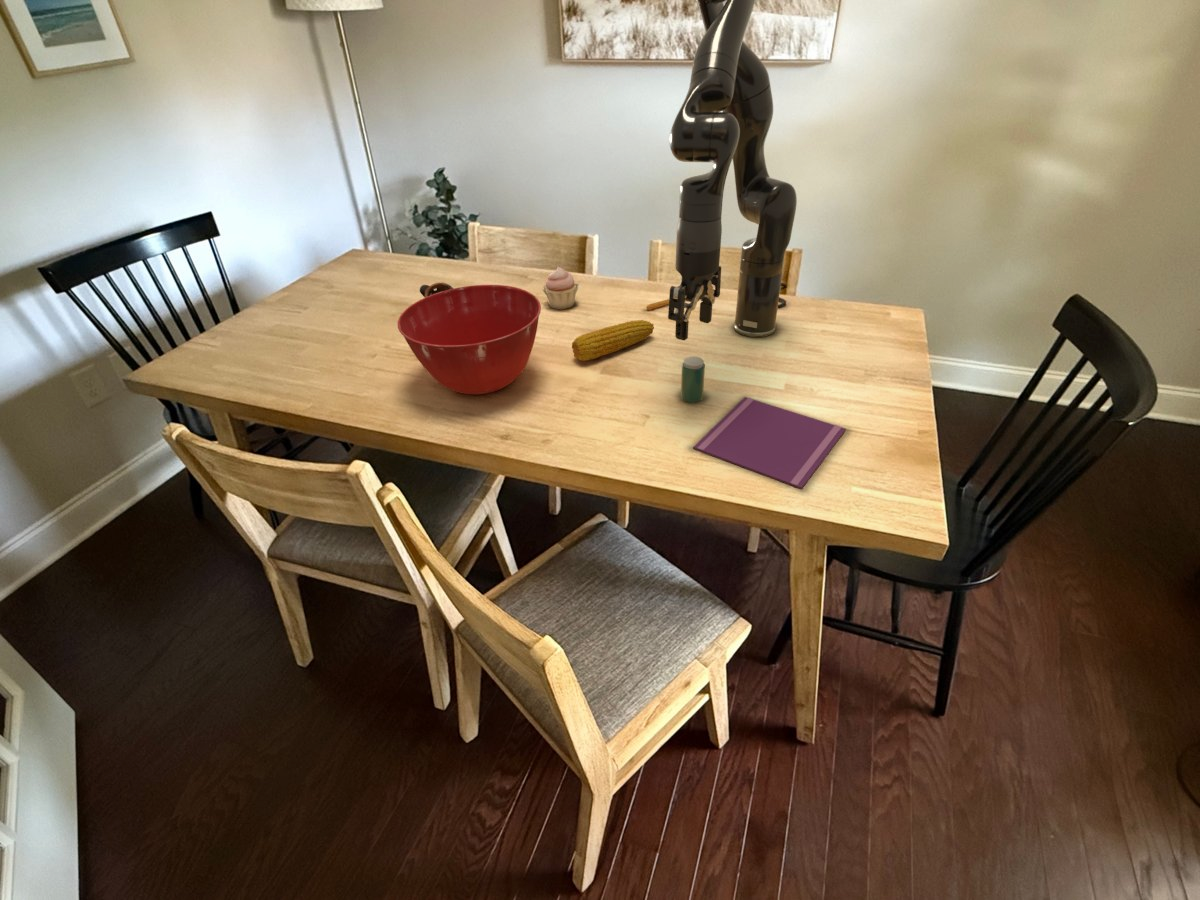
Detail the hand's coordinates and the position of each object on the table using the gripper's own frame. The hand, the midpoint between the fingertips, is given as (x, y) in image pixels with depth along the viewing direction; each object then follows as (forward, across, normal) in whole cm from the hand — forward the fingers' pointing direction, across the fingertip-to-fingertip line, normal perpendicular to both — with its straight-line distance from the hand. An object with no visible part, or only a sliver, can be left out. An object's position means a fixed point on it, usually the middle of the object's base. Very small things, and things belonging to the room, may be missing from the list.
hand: (693, 330), depth 119 cm
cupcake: (+15, -21, -51) cm, 57 cm away
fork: (+14, -38, -26) cm, 49 cm away
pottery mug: (+15, -2, -76) cm, 77 cm away
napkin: (+14, +5, +19) cm, 25 cm away
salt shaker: (+14, 0, 0) cm, 14 cm away
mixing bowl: (+15, +18, -40) cm, 47 cm away
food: (+15, -8, -25) cm, 30 cm away
